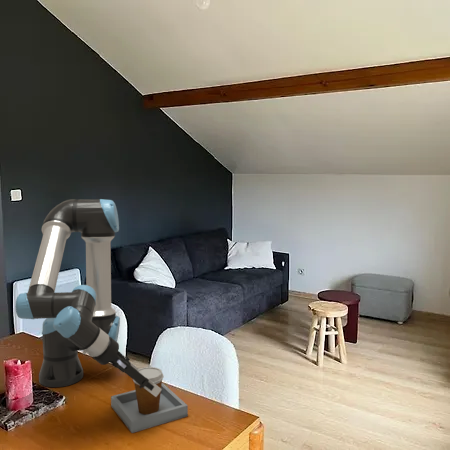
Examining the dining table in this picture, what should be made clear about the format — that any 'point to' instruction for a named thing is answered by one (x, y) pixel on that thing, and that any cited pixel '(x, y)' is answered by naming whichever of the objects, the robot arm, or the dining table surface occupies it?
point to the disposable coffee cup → (144, 397)
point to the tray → (135, 421)
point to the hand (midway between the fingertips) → (149, 384)
